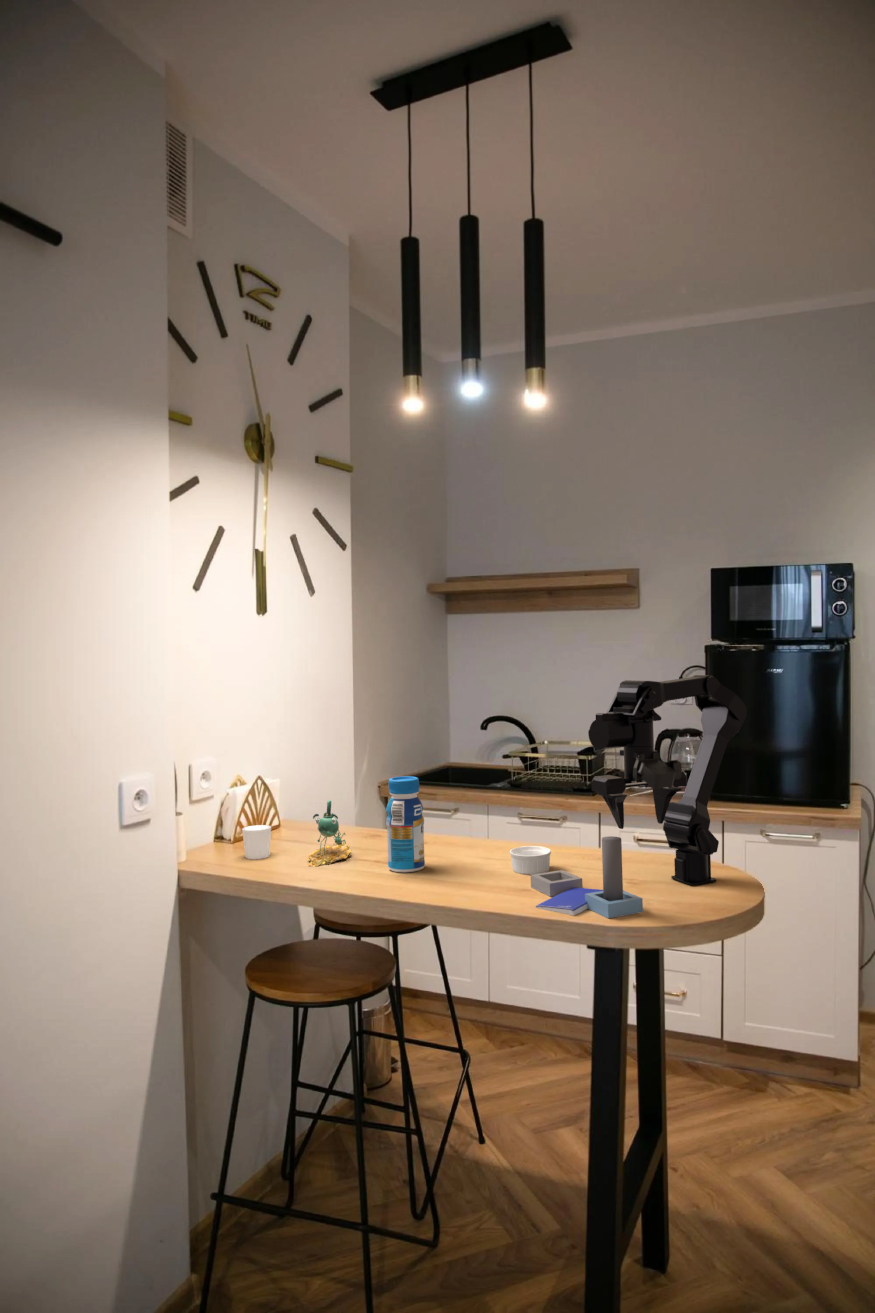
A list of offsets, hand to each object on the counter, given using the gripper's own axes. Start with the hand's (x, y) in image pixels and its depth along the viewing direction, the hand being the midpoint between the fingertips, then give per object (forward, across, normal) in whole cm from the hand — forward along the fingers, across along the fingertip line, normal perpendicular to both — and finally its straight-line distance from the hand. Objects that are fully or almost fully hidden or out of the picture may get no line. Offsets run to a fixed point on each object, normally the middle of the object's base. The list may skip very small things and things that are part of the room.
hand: (640, 826), depth 167 cm
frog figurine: (+14, -45, +59) cm, 75 cm away
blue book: (+14, -15, +1) cm, 20 cm away
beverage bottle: (+13, -33, +41) cm, 54 cm away
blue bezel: (+13, -11, -6) cm, 18 cm away
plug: (+13, -11, -6) cm, 18 cm away
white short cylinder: (+13, -60, +70) cm, 93 cm away
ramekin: (+13, -10, +26) cm, 31 cm away
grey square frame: (+13, -13, +10) cm, 21 cm away
